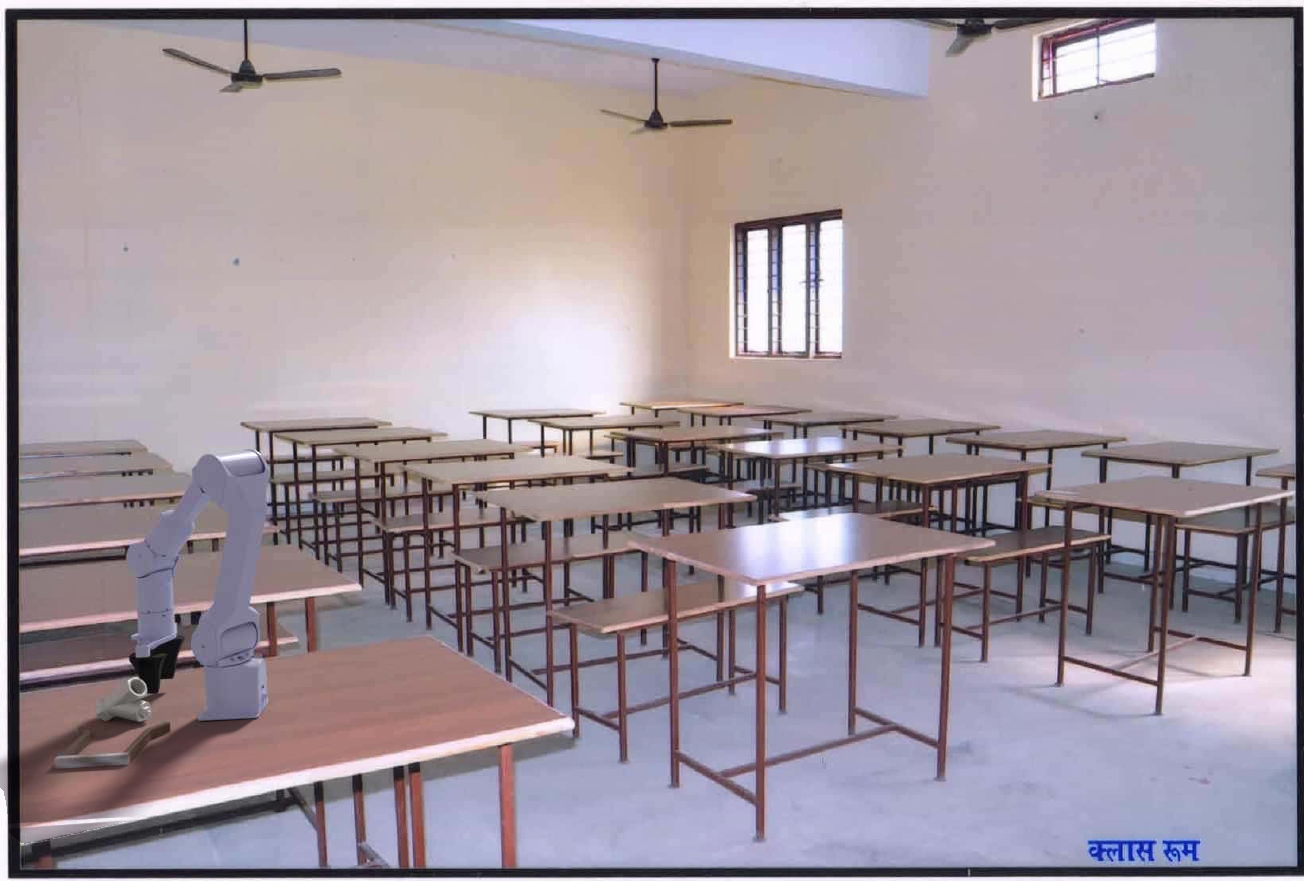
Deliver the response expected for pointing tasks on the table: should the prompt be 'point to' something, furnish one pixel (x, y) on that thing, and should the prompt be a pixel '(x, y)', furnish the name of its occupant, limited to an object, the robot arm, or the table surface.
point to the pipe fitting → (125, 702)
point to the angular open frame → (109, 759)
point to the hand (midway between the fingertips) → (159, 685)
